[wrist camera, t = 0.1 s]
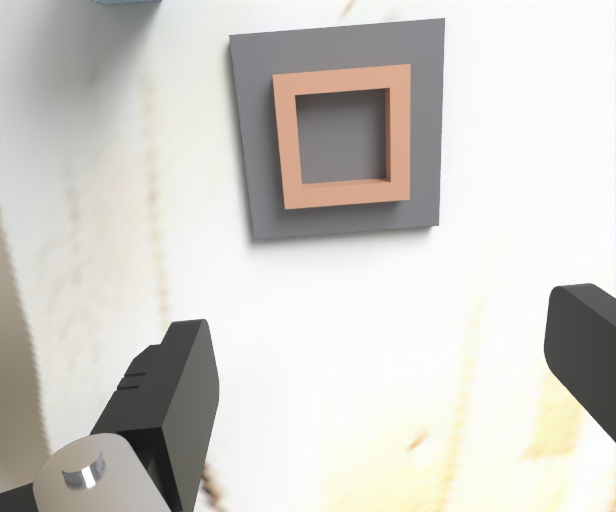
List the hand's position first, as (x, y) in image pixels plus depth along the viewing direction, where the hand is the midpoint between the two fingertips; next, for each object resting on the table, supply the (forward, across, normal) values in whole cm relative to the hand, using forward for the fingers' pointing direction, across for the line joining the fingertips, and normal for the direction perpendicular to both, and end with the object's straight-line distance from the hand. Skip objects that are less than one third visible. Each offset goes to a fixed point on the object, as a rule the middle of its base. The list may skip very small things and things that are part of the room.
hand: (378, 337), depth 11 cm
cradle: (+29, -2, -1) cm, 29 cm away
